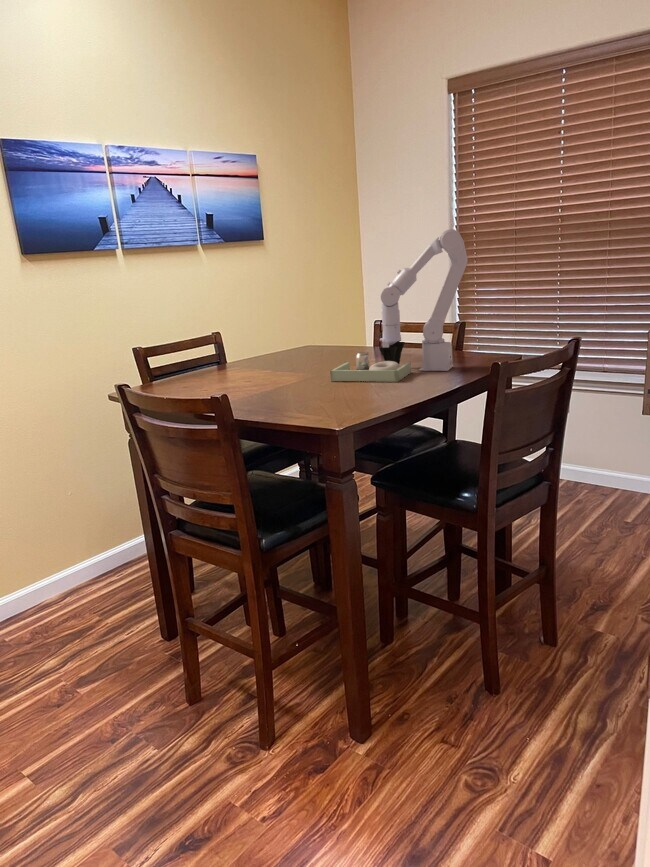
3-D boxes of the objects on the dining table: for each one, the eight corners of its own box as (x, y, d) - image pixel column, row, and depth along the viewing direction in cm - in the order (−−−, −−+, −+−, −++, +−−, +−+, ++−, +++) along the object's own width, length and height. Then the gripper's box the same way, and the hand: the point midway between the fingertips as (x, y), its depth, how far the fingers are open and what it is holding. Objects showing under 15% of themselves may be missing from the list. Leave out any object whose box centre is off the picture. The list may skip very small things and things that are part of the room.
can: (371, 369, 222) (370, 352, 221) (367, 371, 218) (366, 354, 217) (359, 369, 224) (358, 352, 223) (354, 371, 220) (353, 354, 219)
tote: (411, 372, 210) (410, 362, 209) (398, 382, 197) (397, 370, 196) (347, 372, 219) (346, 362, 218) (331, 381, 206) (330, 370, 205)
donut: (366, 373, 211) (372, 381, 202) (365, 363, 210) (371, 370, 201) (396, 368, 212) (404, 375, 203) (395, 357, 211) (402, 364, 201)
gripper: (386, 322, 220) (387, 362, 224) (372, 327, 207) (374, 370, 211) (406, 321, 217) (407, 362, 221) (393, 327, 204) (395, 370, 208)
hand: (393, 366), depth 216 cm, fingers open, 7 cm apart
